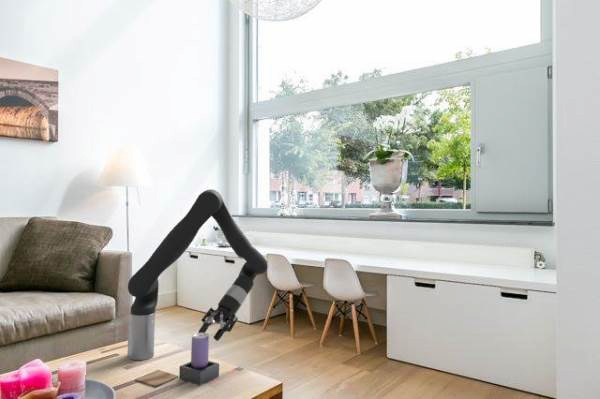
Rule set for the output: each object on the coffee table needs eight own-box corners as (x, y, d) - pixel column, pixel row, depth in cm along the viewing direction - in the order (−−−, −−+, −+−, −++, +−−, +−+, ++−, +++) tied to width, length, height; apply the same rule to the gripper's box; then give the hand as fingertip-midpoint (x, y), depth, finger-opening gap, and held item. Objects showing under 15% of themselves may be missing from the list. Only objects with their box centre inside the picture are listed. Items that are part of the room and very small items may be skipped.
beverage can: (203, 382, 150) (205, 338, 150) (187, 380, 151) (188, 336, 151) (210, 375, 156) (211, 333, 156) (195, 373, 157) (196, 331, 157)
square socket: (179, 379, 152) (179, 366, 152) (198, 370, 160) (198, 358, 160) (200, 385, 147) (200, 372, 147) (218, 376, 155) (219, 363, 155)
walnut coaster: (135, 380, 149) (135, 379, 149) (158, 371, 158) (158, 369, 158) (156, 387, 144) (156, 385, 144) (178, 377, 153) (178, 375, 153)
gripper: (215, 291, 168) (189, 326, 159) (240, 296, 158) (215, 335, 150) (225, 302, 172) (201, 338, 163) (250, 309, 163) (226, 347, 154)
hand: (207, 336), depth 156 cm, fingers open, 8 cm apart
